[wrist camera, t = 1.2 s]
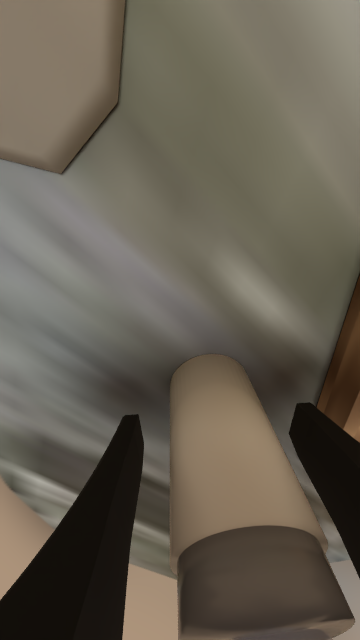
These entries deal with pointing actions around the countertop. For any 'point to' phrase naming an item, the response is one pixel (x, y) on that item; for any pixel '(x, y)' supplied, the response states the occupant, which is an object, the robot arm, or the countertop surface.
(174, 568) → the pepper shaker
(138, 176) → the countertop surface
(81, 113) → the flask
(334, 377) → the tray
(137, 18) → the countertop surface
